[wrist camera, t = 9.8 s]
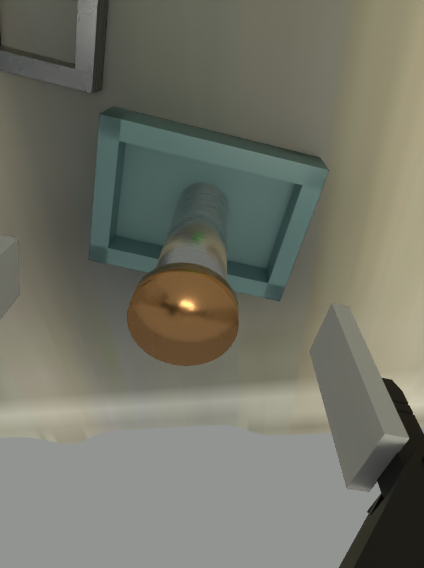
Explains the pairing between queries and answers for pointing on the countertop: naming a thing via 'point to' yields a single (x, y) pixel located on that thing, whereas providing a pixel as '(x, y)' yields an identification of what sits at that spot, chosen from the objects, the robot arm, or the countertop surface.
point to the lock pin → (188, 285)
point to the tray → (200, 169)
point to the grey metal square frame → (87, 58)
